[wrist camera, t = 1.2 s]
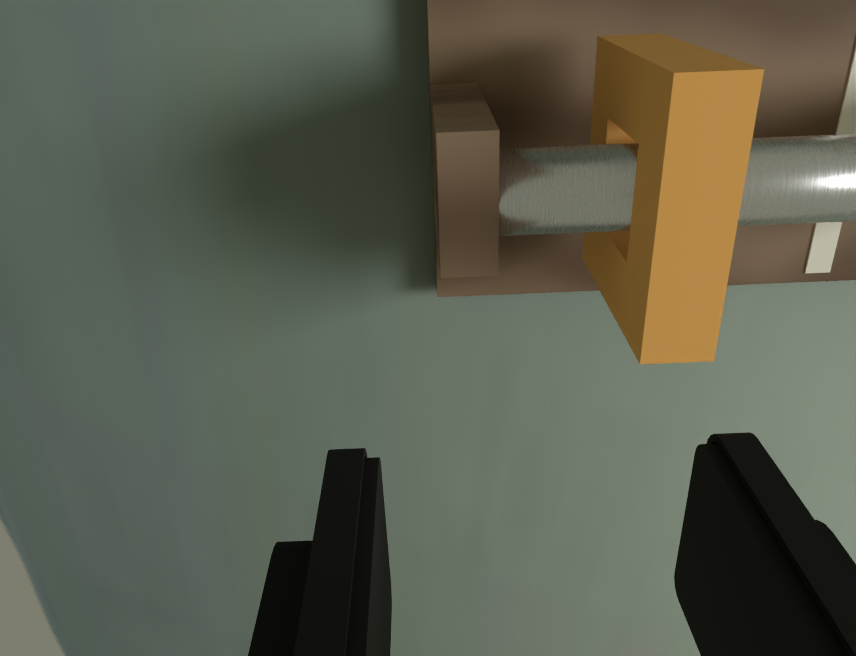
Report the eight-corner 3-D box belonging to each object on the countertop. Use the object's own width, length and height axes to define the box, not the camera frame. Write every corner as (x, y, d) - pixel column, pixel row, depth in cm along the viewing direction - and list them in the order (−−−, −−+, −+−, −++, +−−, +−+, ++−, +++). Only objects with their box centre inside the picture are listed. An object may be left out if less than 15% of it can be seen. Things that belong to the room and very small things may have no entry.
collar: (597, 35, 27) (674, 73, 19) (661, 33, 27) (764, 69, 19) (582, 258, 31) (640, 364, 23) (637, 256, 31) (713, 361, 23)
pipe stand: (425, -48, 30) (430, -46, 20) (1032, -74, 30) (1320, -83, 20) (436, 284, 37) (444, 400, 27) (927, 264, 37) (1105, 373, 27)
